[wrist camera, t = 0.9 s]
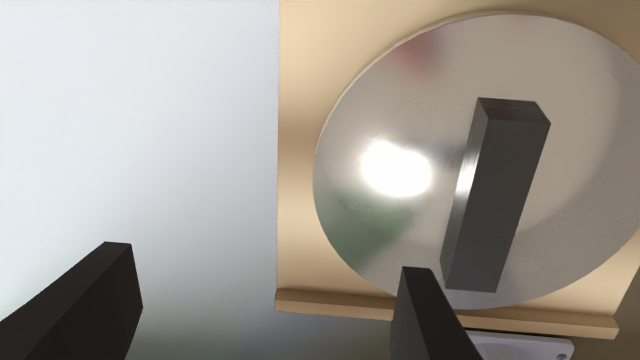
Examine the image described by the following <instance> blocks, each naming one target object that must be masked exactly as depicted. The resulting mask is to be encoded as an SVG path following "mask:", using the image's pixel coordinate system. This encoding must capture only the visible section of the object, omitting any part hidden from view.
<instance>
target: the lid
mask: <svg viewBox="0 0 640 360" xmlns="http://www.w3.org/2000/svg"><path fill="white" fill-rule="evenodd" d="M312 181H313V198H314V203H315V209H316V213H317V216H318V218H319V221H320V224H321V227H322V229H323V231H324V233H325V235H326V237H327V239H328V241H329V242H330V244H331V245H332V247H333V248H334V249H335V251H336V252H337V254H338V255H339V256H340V257H341V258H342V259H343V261H344V262H345V263H346V264H347V265H348V266H349V267H350V268H351V269H352V270H354V271H355V272H356V273H357V274H359V275H360V276H361V277H362V278H364V279H365V280H366V281H368V282H370V283H371V284H373V285H375V286H376V287H378V288H379V289H381V290H384V291H386V292H388V293H390V294H392V295H394V296H396V297H397V292H398V287H399V282H400V276H401V271H402V266H409V267H421V268H430V269H431V270H432V271H433V273H434V275H435V277H436V279H437V281H438V283H439V285H440V287H441V289H442V291H443V293H444V294H445V296H446V298H447V300H448V302H449V304H450V305H451V307H452V309H465V310H472V309H490V308H497V307H503V306H510V305H514V304H518V303H522V302H527V301H530V300H533V299H536V298H539V297H542V296H545V295H548V294H550V293H553V292H555V291H557V290H560V289H562V288H564V287H567V286H568V285H570V284H572V283H574V282H576V281H577V280H579V279H581V278H583V277H585V276H586V275H588V274H589V273H591V272H592V271H594V270H595V269H597V268H598V267H599V266H601V265H602V264H603V263H605V262H606V261H607V260H608V259H609V258H611V257H612V256H613V255H614V254H615V253H617V252H618V251H619V250H620V249H621V248H622V247H623V246H624V245H625V244H626V242H627V241H628V240H629V239H630V238H631V237H632V236H633V235H634V234H635V232H636V231H637V230H638V228H639V227H640V65H639V64H638V63H637V62H636V61H634V60H633V59H632V58H631V57H630V56H629V55H628V54H627V53H626V52H625V51H624V50H623V49H621V48H620V47H619V46H617V45H616V44H615V43H613V42H612V41H610V40H609V39H607V38H606V37H604V36H603V35H601V34H600V33H598V32H597V31H595V30H593V29H591V28H589V27H587V26H584V25H582V24H580V23H578V22H576V21H574V20H571V19H567V18H564V17H560V16H557V15H553V14H550V13H544V12H537V11H529V10H498V9H496V10H488V11H480V12H472V13H467V14H463V15H459V16H455V17H451V18H447V19H443V20H441V21H438V22H435V23H433V24H430V25H428V26H425V27H423V28H420V29H418V30H416V31H414V32H412V33H410V34H408V35H407V36H405V37H403V38H401V39H399V40H397V41H396V42H394V43H393V44H391V45H390V46H388V47H387V48H386V49H384V50H383V51H381V52H380V53H379V54H377V55H376V56H374V57H373V58H372V59H371V60H370V61H369V62H368V63H367V64H366V65H365V66H364V67H362V68H361V69H360V70H359V71H358V72H357V73H356V74H355V75H354V77H353V78H352V79H351V80H350V81H349V83H348V84H347V85H346V86H345V87H344V89H343V90H342V91H341V93H340V94H339V96H338V97H337V99H336V101H335V102H334V104H333V105H332V107H331V109H330V111H329V113H328V115H327V117H326V119H325V122H324V124H323V126H322V128H321V132H320V135H319V139H318V142H317V146H316V152H315V159H314V167H313V174H312Z"/></svg>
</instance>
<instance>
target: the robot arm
mask: <svg viewBox="0 0 640 360" xmlns="http://www.w3.org/2000/svg"><path fill="white" fill-rule="evenodd" d="M142 309H143V304H142V299H141V293H140V288H139V283H138V278H137V272H136V267H135V262H134V256H133V251H132V246H131V244H128V243H116V242H104V243H102V244H101V245H100V246H98V247H97V248H96V249H95V250H93V251H92V252H91V253H89V254H88V255H87V256H86V257H84V258H83V259H82V260H81V261H79V262H78V263H77V264H76V265H74V266H73V267H72V268H71V269H69V270H68V271H67V272H66V273H64V274H63V275H62V276H61V277H59V278H58V279H57V280H56V281H54V282H53V283H52V284H50V285H49V286H48V287H47V288H45V289H44V290H43V291H41V292H40V293H39V294H37V295H36V296H35V297H34V298H32V299H31V300H30V301H28V302H27V303H26V304H24V305H23V306H22V307H20V308H19V309H17V310H16V311H15V312H13V313H12V314H10V315H9V316H8V317H6V318H5V319H3V320H2V321H1V322H0V360H124V359H125V357H126V354H127V352H128V350H129V348H130V345H131V342H132V339H133V337H134V334H135V331H136V328H137V325H138V322H139V319H140V316H141V313H142ZM573 352H574V346H573V344H572V342H571V341H570V340H569V339H563V338H552V337H540V336H528V335H516V334H504V333H493V332H481V331H469V330H465V329H464V328H463V326H462V325H461V323H460V321H459V319H458V318H457V316H456V314H455V313H454V311H453V309H452V307H451V305H450V304H449V302H448V300H447V298H446V296H445V294H444V293H443V291H442V289H441V287H440V285H439V283H438V281H437V279H436V277H435V275H434V273H433V271H432V270H431V269H430V268H421V267H409V266H402V271H401V276H400V282H399V287H398V292H397V298H396V303H395V309H394V314H393V319H392V325H391V360H570V358H571V356H572V354H573Z"/></svg>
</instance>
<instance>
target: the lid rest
mask: <svg viewBox="0 0 640 360" xmlns="http://www.w3.org/2000/svg"><path fill="white" fill-rule="evenodd" d="M496 9H498V10H529V11H537V12H544V13H550V14H553V15H557V16H560V17H564V18H567V19H571V20H574V21H576V22H578V23H580V24H582V25H584V26H587V27H589V28H591V29H593V30H595V31H597V32H598V33H600V34H601V35H603V36H604V37H606V38H607V39H609V40H610V41H612V42H613V43H615V44H616V45H617V46H619V47H620V48H621V49H623V50H624V51H625V52H626V53H627V54H628V55H629V56H630V57H631V58H632V59H633V60H634V61H636V62H637V63H638V64H639V65H640V0H280V8H279V109H278V210H277V290H276V295H275V311H282V312H294V313H306V314H317V315H329V316H341V317H353V318H365V319H376V320H388V321H392V319H393V314H394V309H395V303H396V298H397V297H396V296H394V295H392V294H390V293H388V292H386V291H384V290H381V289H379V288H378V287H376V286H375V285H373V284H371V283H370V282H368V281H366V280H365V279H364V278H362V277H361V276H360V275H359V274H357V273H356V272H355V271H354V270H352V269H351V268H350V267H349V266H348V265H347V264H346V263H345V262H344V261H343V259H342V258H341V257H340V256H339V255H338V254H337V252H336V251H335V249H334V248H333V247H332V245H331V244H330V242H329V241H328V239H327V237H326V235H325V233H324V231H323V229H322V227H321V224H320V221H319V218H318V216H317V213H316V209H315V203H314V198H313V181H312V174H313V167H314V159H315V152H316V146H317V142H318V139H319V135H320V132H321V128H322V126H323V124H324V122H325V119H326V117H327V115H328V113H329V111H330V109H331V107H332V105H333V104H334V102H335V101H336V99H337V97H338V96H339V94H340V93H341V91H342V90H343V89H344V87H345V86H346V85H347V84H348V83H349V81H350V80H351V79H352V78H353V77H354V75H355V74H356V73H357V72H358V71H359V70H360V69H361V68H362V67H364V66H365V65H366V64H367V63H368V62H369V61H370V60H371V59H372V58H373V57H374V56H376V55H377V54H379V53H380V52H381V51H383V50H384V49H386V48H387V47H388V46H390V45H391V44H393V43H394V42H396V41H397V40H399V39H401V38H403V37H405V36H407V35H408V34H410V33H412V32H414V31H416V30H418V29H420V28H423V27H425V26H428V25H430V24H433V23H435V22H438V21H441V20H443V19H447V18H451V17H455V16H459V15H463V14H467V13H472V12H480V11H488V10H496ZM639 266H640V227H639V228H638V230H637V231H636V232H635V234H634V235H633V236H632V237H631V238H630V239H629V240H628V241H627V242H626V244H625V245H624V246H623V247H622V248H621V249H620V250H619V251H618V252H617V253H615V254H614V255H613V256H612V257H611V258H609V259H608V260H607V261H606V262H605V263H603V264H602V265H601V266H599V267H598V268H597V269H595V270H594V271H592V272H591V273H589V274H588V275H586V276H585V277H583V278H581V279H579V280H577V281H576V282H574V283H572V284H570V285H568V286H567V287H564V288H562V289H560V290H557V291H555V292H553V293H550V294H548V295H545V296H542V297H539V298H536V299H533V300H530V301H527V302H522V303H518V304H514V305H510V306H503V307H497V308H490V309H472V310H465V309H453V311H454V313H455V314H456V316H457V318H458V319H459V321H460V323H461V325H462V326H463V327H471V328H483V329H495V330H506V331H518V332H530V333H542V334H554V335H565V336H577V337H589V338H601V339H613V340H614V339H615V337H616V335H617V333H618V331H619V329H620V328H619V326H618V325H617V323H616V321H615V319H614V317H613V316H614V314H615V312H616V310H617V308H618V306H619V304H620V302H621V300H622V298H623V297H624V295H625V293H626V291H627V289H628V287H629V285H630V283H631V281H632V279H633V277H634V275H635V273H636V272H637V270H638V268H639Z"/></svg>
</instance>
